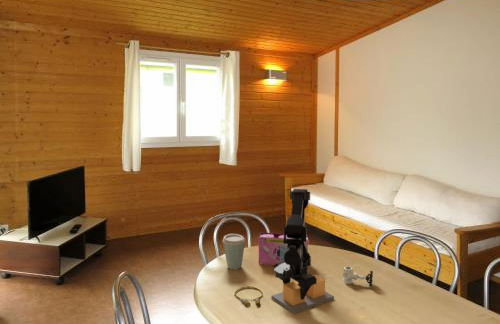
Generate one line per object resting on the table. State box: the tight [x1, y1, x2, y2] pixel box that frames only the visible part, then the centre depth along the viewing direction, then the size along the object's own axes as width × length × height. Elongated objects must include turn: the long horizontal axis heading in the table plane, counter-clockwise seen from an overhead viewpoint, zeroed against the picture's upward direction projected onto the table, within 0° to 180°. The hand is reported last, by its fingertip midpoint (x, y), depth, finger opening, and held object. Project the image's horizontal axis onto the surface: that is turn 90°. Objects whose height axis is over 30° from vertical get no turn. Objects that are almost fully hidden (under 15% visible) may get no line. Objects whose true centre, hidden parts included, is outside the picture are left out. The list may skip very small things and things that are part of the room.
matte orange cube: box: [282, 280, 305, 305], centre depth 151 cm, size 6×6×6 cm
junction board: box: [270, 274, 335, 314], centre depth 155 cm, size 14×20×7 cm
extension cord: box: [234, 286, 264, 307], centre depth 157 cm, size 12×16×2 cm
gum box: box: [257, 231, 310, 266], centre depth 192 cm, size 24×8×14 cm, turn 78°
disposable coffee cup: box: [222, 233, 246, 270], centre depth 186 cm, size 11×11×15 cm
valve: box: [342, 266, 374, 287], centre depth 168 cm, size 7×7×12 cm
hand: (294, 294), depth 151 cm, fingers open, 9 cm apart
